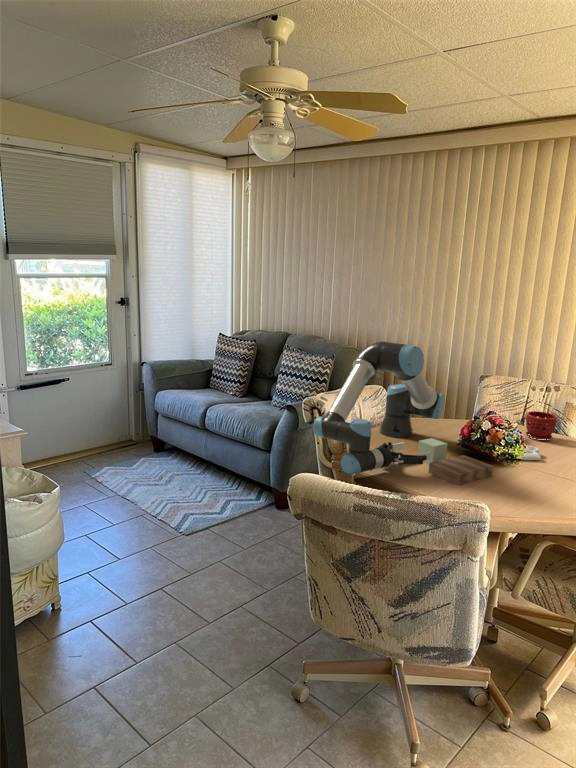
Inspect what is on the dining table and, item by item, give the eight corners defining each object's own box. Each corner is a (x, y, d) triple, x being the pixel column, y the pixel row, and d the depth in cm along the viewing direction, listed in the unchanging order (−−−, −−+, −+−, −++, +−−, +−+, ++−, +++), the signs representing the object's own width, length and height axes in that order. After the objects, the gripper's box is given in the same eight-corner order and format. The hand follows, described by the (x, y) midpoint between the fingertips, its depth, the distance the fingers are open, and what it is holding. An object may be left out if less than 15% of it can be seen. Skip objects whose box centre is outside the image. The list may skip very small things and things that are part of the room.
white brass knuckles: (505, 461, 236) (491, 450, 250) (547, 462, 237) (530, 451, 251) (506, 453, 235) (492, 442, 249) (548, 455, 236) (531, 444, 251)
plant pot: (520, 433, 278) (523, 409, 276) (548, 436, 277) (552, 412, 274) (527, 441, 266) (531, 416, 263) (557, 444, 264) (561, 419, 262)
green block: (430, 456, 236) (431, 438, 234) (445, 462, 229) (447, 443, 228) (416, 459, 231) (418, 440, 229) (432, 465, 225) (434, 446, 223)
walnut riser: (461, 464, 228) (463, 455, 227) (492, 475, 216) (493, 465, 216) (428, 472, 216) (429, 462, 215) (458, 485, 205) (459, 474, 204)
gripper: (354, 458, 222) (392, 450, 234) (401, 479, 202) (440, 469, 214) (355, 439, 220) (394, 432, 232) (403, 458, 200) (442, 450, 213)
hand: (416, 450), depth 223 cm, fingers open, 13 cm apart
